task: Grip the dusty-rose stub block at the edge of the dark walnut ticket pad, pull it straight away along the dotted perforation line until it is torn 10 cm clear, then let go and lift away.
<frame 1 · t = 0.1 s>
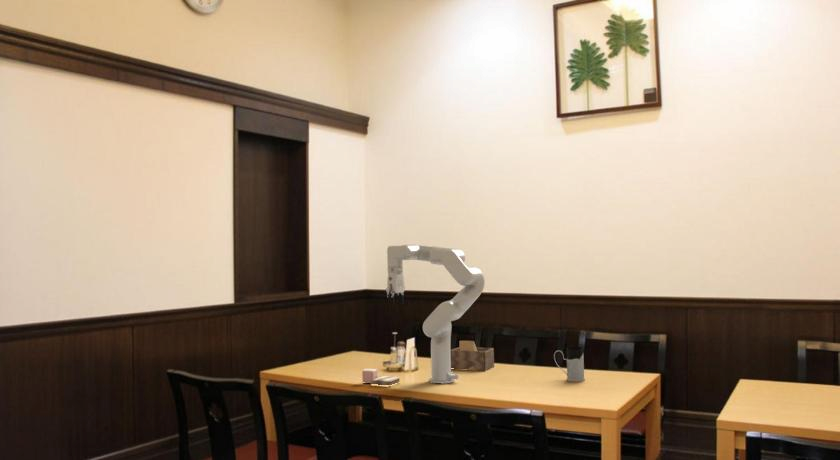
hand: (395, 304, 333), 37 cm above the table, tool pointing down, fingers open, 9 cm apart
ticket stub: (370, 376, 320), point 3 cm above the table, slide at 0.0 cm
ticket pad: (385, 384, 316), on the table
brown storage basket: (472, 368, 357), on the table
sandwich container: (472, 368, 357), on the table, touching brown storage basket
glass holder: (570, 380, 318), on the table
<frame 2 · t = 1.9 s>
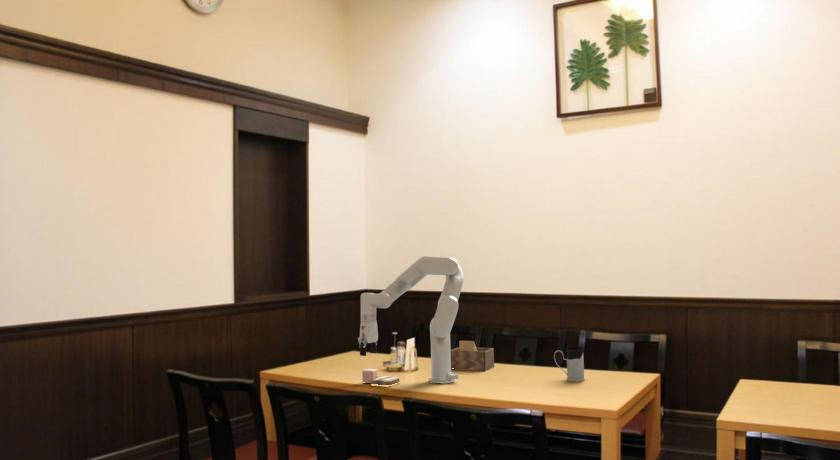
hand: (368, 354, 320), 14 cm above the table, tool pointing down, fingers open, 9 cm apart
nothing on the table moved.
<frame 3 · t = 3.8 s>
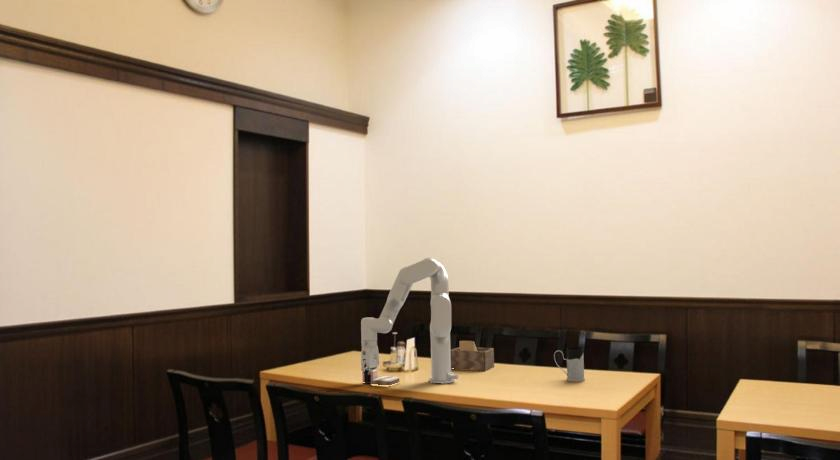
hand: (370, 381, 320), 1 cm above the table, tool pointing down, fingers closed on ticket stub, 4 cm apart
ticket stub: (370, 376, 320), point 3 cm above the table, slide at 0.0 cm, touching gripper
everything else where it was.
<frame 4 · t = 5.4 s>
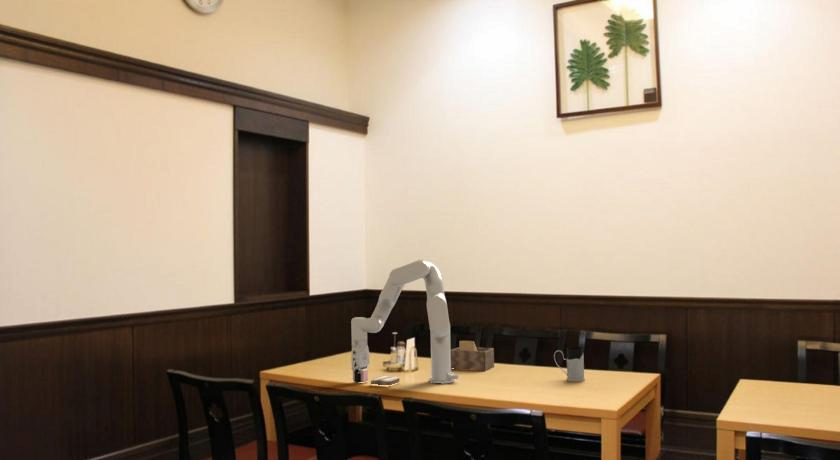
hand: (360, 380, 322), 1 cm above the table, tool pointing down, fingers closed on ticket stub, 4 cm apart
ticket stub: (360, 375, 323), point 3 cm above the table, slide at 5.4 cm, touching gripper
everything else where it was.
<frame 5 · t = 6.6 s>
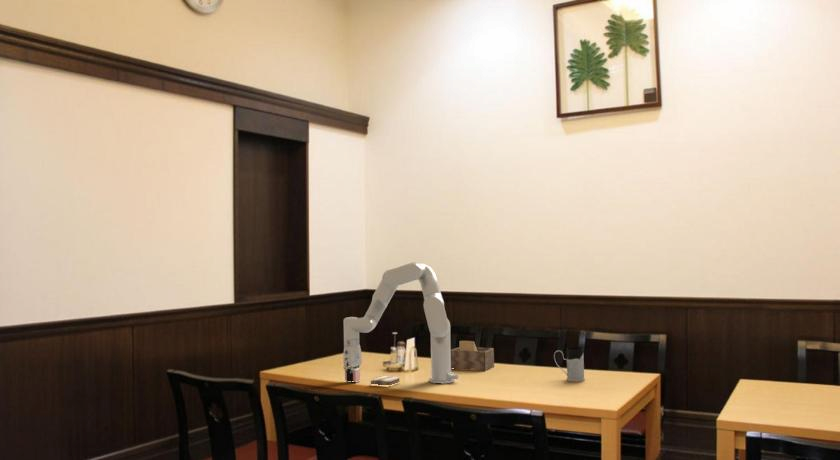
hand: (352, 380, 324), 1 cm above the table, tool pointing down, fingers closed on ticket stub, 4 cm apart
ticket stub: (352, 375, 324), point 3 cm above the table, slide at 9.9 cm, touching gripper
everything else where it was.
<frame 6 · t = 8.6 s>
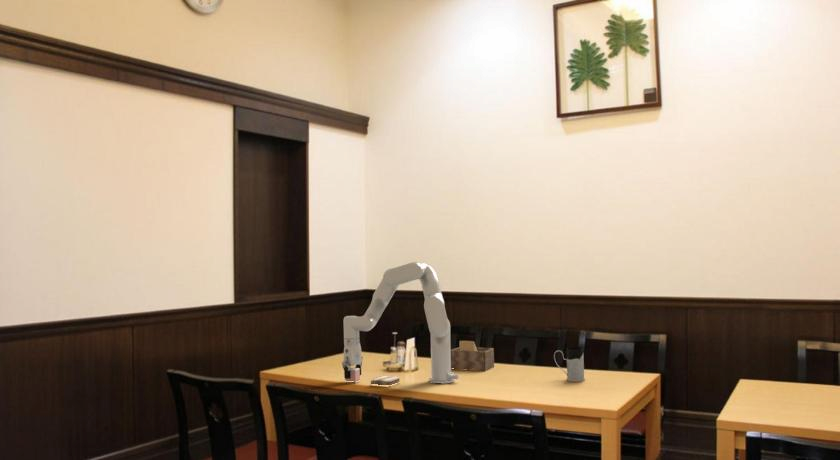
hand: (353, 376, 324), 3 cm above the table, tool pointing down, fingers open, 9 cm apart
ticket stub: (352, 375, 325), point 3 cm above the table, slide at 10.0 cm
everything else where it was.
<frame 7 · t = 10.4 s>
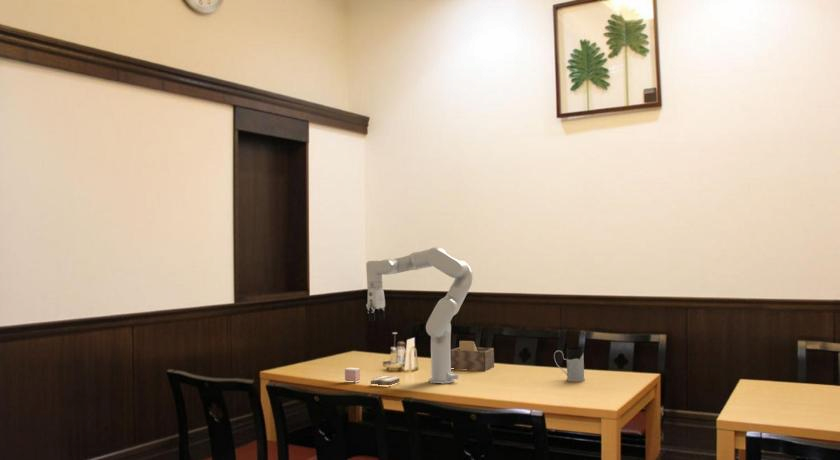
hand: (376, 320, 330), 29 cm above the table, tool pointing down, fingers open, 9 cm apart
nothing on the table moved.
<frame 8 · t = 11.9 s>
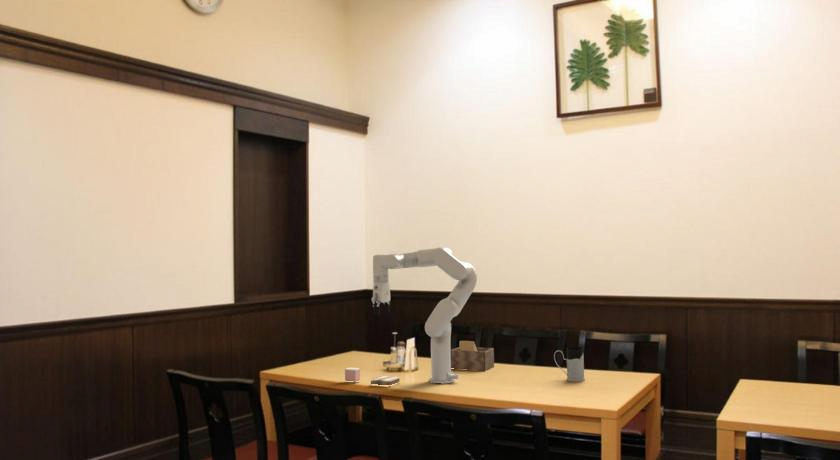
hand: (381, 313, 332), 32 cm above the table, tool pointing down, fingers open, 9 cm apart
nothing on the table moved.
at the end: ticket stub slide at 10.0 cm; the gripper is holding nothing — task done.
